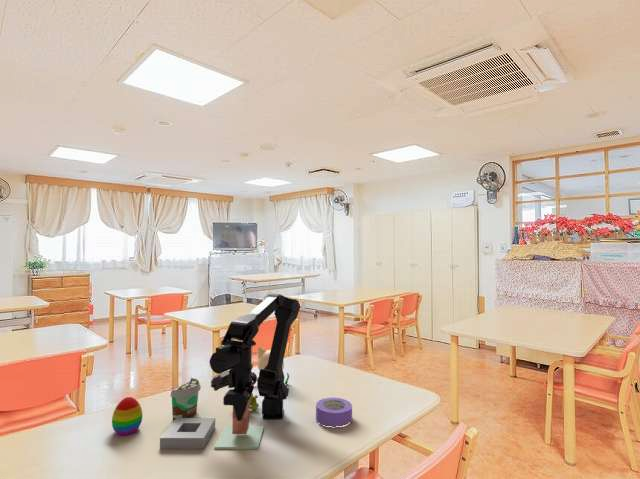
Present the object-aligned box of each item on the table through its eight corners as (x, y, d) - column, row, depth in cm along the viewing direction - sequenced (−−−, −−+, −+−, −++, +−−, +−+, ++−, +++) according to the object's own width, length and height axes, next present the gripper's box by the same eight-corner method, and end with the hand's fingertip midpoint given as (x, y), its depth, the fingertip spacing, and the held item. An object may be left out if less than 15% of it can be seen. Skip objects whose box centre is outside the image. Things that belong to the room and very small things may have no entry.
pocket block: (215, 427, 113) (215, 418, 113) (203, 449, 101) (203, 438, 101) (176, 427, 113) (176, 417, 113) (159, 448, 101) (159, 437, 101)
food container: (187, 424, 115) (188, 392, 116) (169, 422, 117) (170, 390, 117) (207, 407, 127) (207, 378, 128) (191, 406, 129) (191, 377, 129)
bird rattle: (241, 421, 122) (265, 405, 126) (228, 392, 121) (253, 377, 125) (236, 413, 128) (259, 398, 132) (224, 386, 126) (248, 372, 130)
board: (263, 428, 113) (263, 426, 113) (257, 449, 101) (257, 447, 101) (224, 427, 113) (224, 425, 113) (214, 449, 101) (214, 446, 101)
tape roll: (356, 416, 123) (357, 401, 123) (344, 431, 112) (344, 415, 112) (324, 409, 127) (324, 394, 128) (309, 423, 117) (309, 407, 117)
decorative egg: (113, 427, 113) (114, 394, 113) (142, 422, 116) (143, 390, 116) (109, 440, 105) (110, 405, 106) (141, 434, 109) (142, 400, 109)
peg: (248, 427, 109) (249, 393, 110) (246, 434, 105) (246, 399, 106) (235, 427, 109) (235, 393, 110) (232, 434, 105) (232, 399, 106)
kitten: (292, 380, 155) (293, 344, 155) (284, 389, 145) (285, 351, 145) (259, 377, 158) (259, 342, 158) (249, 385, 148) (250, 348, 149)
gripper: (222, 354, 117) (221, 403, 117) (204, 374, 98) (203, 432, 98) (257, 354, 117) (256, 403, 117) (246, 374, 99) (245, 433, 98)
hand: (240, 416), depth 108 cm, fingers closed on peg, 4 cm apart
